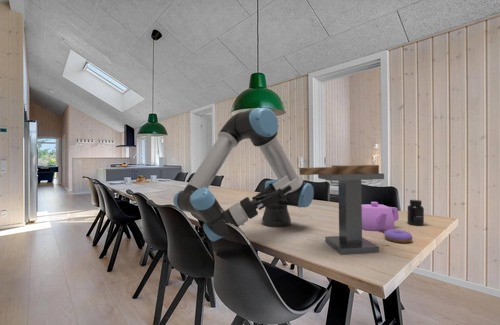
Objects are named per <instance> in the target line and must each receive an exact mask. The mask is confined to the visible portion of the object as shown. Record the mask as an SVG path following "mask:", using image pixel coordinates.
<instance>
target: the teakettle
mask: <svg viewBox="0 0 500 325" xmlns="http://www.w3.org/2000/svg"><path fill="white" fill-rule="evenodd" d="M399 219H400V218H399V209H398V207H393V206H387V205H384V204H382V203H381V204H380V203H379V202H378V201H370V204H369V203H368V204H362V230H364V231H370V232H371V231H372V232H374V231H375V232H385V231H387V230H389V229H395V222H396V221H398V220H399Z"/></svg>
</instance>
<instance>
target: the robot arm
mask: <svg viewBox="0 0 500 325" xmlns="http://www.w3.org/2000/svg"><path fill="white" fill-rule="evenodd" d="M278 123H279V120H278V117H277V114H276V113H274V112H273V110H272V109H270V108H267V107H257V108H252V109H249V110H245V111H240V112H239V111H238V112H237V113H235V114H234V115H233V116H231V117H230V118H229V119H228V120H227V121H226V122H225V123H224V125H223V126H222V127H221V129H220V130H219V132H218V133H217V140H216V141H215V142H214V144H213V145H212V147H211V148H210V150H209V151H208V153H207V154H206V156H205V158H204V159H203V161H202V162H201V163H200V165H199V166H198V168H197V169H196V171H195V172H194V174H193V176H191V179H190V180H189V182H188V183H187V185H186V186H185V187H184V189H183V190H180V191H178V192H177V193H175V194H174V197H173V201H172V202H173V205H174V207H175V208H176V209H178V210H180V211H183V212H187V213H190V214H195V215H197V216H200V217H201V218H202V219H203V221H204V222H205V223H204V224H203V225H202V228H203V229H202V230H203V231H204V234H206V236H207V238H208V240H210V241H211V242H216V241H218V240H220V239H222V238H224V237H225V236H227V235H228V234H230V232H229V229H228V226H227V225H226V224H225V223H229V222H230V223H231V224H234V225H235V226H237V228H239V227H240V226H244V225H245V223H247V222H248V221H249V220H252V219H253V218H255V217H256V216H258V215H259V212H258V211H257V209H258V210H259V211H260V210H262V209H264V212H263V215H262V218H261V222H262V223H261V224H262V225H263V226H265V227H266V226H267V227H273V228H280V227H289V226H290V225H291V224H292V220H291V216H290V212H289V210H288V206H290V207H296V208H300V209H301V208H308V207H309V206H310V205H311V204H312V202H313V199H314V195H315V193H314V191H315V190H314V186H313V184H311V183H309V182H305V180H304V178H303V176H302V175H300V174H297V173H296V171H295V169H294V167H293V165H292V164H291V160H289V158H288V156H287V154H286V152H285V150H284V149H283V147H282V144H281V143H280V141H279V140H278V138H277V136H278V134H279V132H278V131H279V124H278ZM246 139H248V140H250V142H251V143H252V145H253V147H256V148H259V149H260V151H261V153H262V155H263V156H264V158H265V160H266V162H267V163H268V165H269V166H270V168H271V170H272V171H273V173H274V174H275V176H276V178H277V179H274V180H272V179H271V180H266V181H265V182H264V189H263V190H261V191H260V192H259V193H257V194H256V195H254V196H252V197H251V199H252V200H251V199H250V197H249V196H247V197H244V198H243V199H241V200H240V201H239V202H236V203H234V204H233V205H232V206H230V207H228V208H227V209H225V210H224V209H223V208H222V206H221V205H220V203H219V201H218V200H217V198H216V197H215V195H214V193H213V192H212V191H211V190H210V189H209V187H210V186H211V184H212V182H213V181H214V179H215V178H216V175H218V172H219V171H220V170H221V169H222V166H223V164H224V163H225V161H226V159H227V158H228V157H229V155H230V154H231V151H232V150H233V148H236V147H237V146H239V143H240V142H241V141H243V140H246ZM218 220H219V221H218ZM223 220H224V221H225V222H224V221H223ZM215 222H216V223H215ZM213 223H214V224H213Z"/></svg>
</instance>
